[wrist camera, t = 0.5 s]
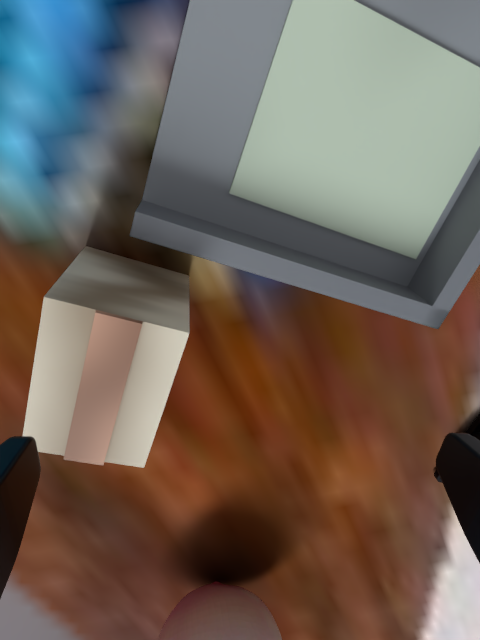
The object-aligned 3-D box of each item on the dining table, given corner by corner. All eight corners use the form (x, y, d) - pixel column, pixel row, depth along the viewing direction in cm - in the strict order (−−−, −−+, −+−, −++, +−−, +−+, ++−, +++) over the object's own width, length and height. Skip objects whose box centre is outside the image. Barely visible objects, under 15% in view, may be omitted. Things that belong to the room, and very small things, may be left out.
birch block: (189, 275, 19) (189, 335, 14) (154, 384, 22) (143, 471, 17) (86, 245, 18) (41, 299, 13) (63, 365, 21) (18, 452, 15)
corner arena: (632, -83, 15) (728, -127, 12) (407, 303, 22) (438, 329, 19) (276, -353, 11) (304, -503, 8) (138, 218, 18) (129, 236, 15)
